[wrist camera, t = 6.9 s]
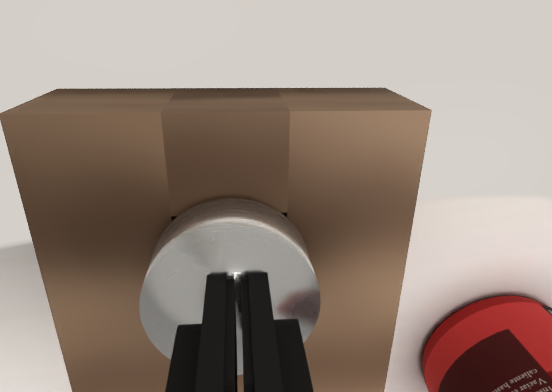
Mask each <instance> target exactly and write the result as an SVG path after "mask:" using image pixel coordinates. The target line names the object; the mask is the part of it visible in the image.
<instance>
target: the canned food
mask: <svg viewBox="0 0 552 392" xmlns="http://www.w3.org/2000/svg"><path fill="white" fill-rule="evenodd" d="M422 362H423V372H424V378H425V383H426V385H427V388H428V391H429V392H552V308H550V307H548V306H546V305H544V304H542V303H540V302H538V301H535V300H532V299H529V298H526V297H520V296H497V297H492V298H487V299H483V300H481V301H478V302H475V303H472V304H470V305H468V306H466V307H464V308H462V309H460V310H458V311H457V312H455V313H454V314H453V315H451V316H450V317H448V318H447V319H446V320H445V321H444V322H443V323H442V324H441V325H440V326H439V327H438V328H437V329H436V330H435V331H434V333H433V334H432V335H431V337H430V338H429V340H428V342H427V344H426V346H425V349H424V353H423V358H422Z"/></svg>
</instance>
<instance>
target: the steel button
mask: <svg viewBox="0 0 552 392" xmlns="http://www.w3.org/2000/svg"><path fill="white" fill-rule="evenodd" d="M256 272H267V273H268V279H269V287H270V295H271V302H272V310H273V317H274V320H276V319H294V318H297V319H298V321H299V325H300V330H301V334H302V339H303V343H304V342H305V341H306V340H307V338H308V337H309V335H310V334H311V332H312V331H313V329H314V326H315V324H316V322H317V319H318V316H319V311H320V305H321V304H320V290H319V285H318V282H317V279H316V276H315V273H314V269H313V266H312V263H311V260H310V257H309V254H308V251H307V248H306V245H305V242H304V239H303V238H302V236H301V234H300V232H299V231H298V229H297V228H296V226H295V225H294V224H293V223H292V222H291V221H290V220H289V219H288V218H287V217H286V216H284V215H283V214H282V213H281V212H279V211H277V210H276V209H274V208H272V207H270V206H268V205H265V204H263V203H260V202H256V201H253V200H248V199H241V198H224V199H216V200H211V201H207V202H204V203H201V204H198V205H196V206H194V207H192V208H190V209H188V210H186V211H184V212H183V213H181V214H180V215H178V216H177V217H176V218H175V219H174V220H173V221H172V222H171V223H170V224H169V225H168V226H167V227H166V228H165V229H164V231H163V233H162V234H161V236H160V237H159V239H158V241H157V244H156V246H155V249H154V252H153V255H152V258H151V261H150V264H149V267H148V270H147V274H146V277H145V280H144V283H143V286H142V290H141V293H140V300H139V312H140V318H141V322H142V325H143V328H144V330H145V332H146V334H147V336H148V337H149V339H150V341H151V342H152V343H153V344H154V346H155V347H156V348H157V349H158V350H159V351H160V352H161V353H162V354H163V355H165V356H166V357H167V358H169V359H170V360H171V357H172V352H173V346H174V341H175V335H176V330H177V327H178V325H184V324H202V317H203V307H204V298H205V288H206V279H207V275H210V274H227V279H235V307H236V337H237V375H242V374H243V346H242V308H241V278H248V273H256Z"/></svg>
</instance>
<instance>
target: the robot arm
mask: <svg viewBox="0 0 552 392" xmlns="http://www.w3.org/2000/svg"><path fill="white" fill-rule="evenodd" d="M241 308H242V346H243V384H244V392H314V391H313V386H312V381H311V377H310V372H309V367H308V363H307V358H306V353H305V349H304V344H303V339H302V334H301V330H300V325H299V321H298V319H297V318H294V319H276V320H274V317H273V310H272V302H271V295H270V287H269V279H268V273H267V272H256V273H248V278H241ZM165 392H238V385H237V337H236V307H235V279H227V274H210V275H207V279H206V288H205V298H204V307H203V317H202V324H184V325H178V327H177V330H176V335H175V341H174V346H173V352H172V357H171V362H170V368H169V373H168V379H167V384H166V390H165Z"/></svg>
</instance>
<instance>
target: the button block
mask: <svg viewBox="0 0 552 392" xmlns="http://www.w3.org/2000/svg"><path fill="white" fill-rule="evenodd" d="M430 117H431V110H430V109H428V108H426V107H424V106H422V105H420V104H417V103H416V102H413V101H411V100H409V99H407V98H405V97H402V96H401V95H399V94H397V93H395V92H392V91H390V90H388V89H386V88H195V89H193V88H191V89H189V88H187V89H186V88H183V89H182V88H181V89H180V88H179V89H176V88H174V89H56V90H53V91H51V92H49V93H46V94H44V95H42V96H40V97H37V98H35V99H33V100H30V101H28V102H26V103H24V104H21V105H19V106H16V107H14V108H12V109H9V110H7V111H5V112H2V113H0V120H1V124H2V127H3V131H4V135H5V139H6V143H7V146H8V150H9V154H10V158H11V162H12V165H13V169H14V173H15V177H16V180H17V184H18V188H19V192H20V195H21V199H22V203H23V207H24V211H25V214H26V218H27V222H28V226H29V230H30V233H31V237H32V241H33V245H34V248H35V252H36V256H37V260H38V263H39V267H40V271H41V275H42V279H43V282H44V286H45V290H46V294H47V297H48V301H49V305H50V309H51V313H52V316H53V320H54V324H55V328H56V331H57V335H58V339H59V343H60V346H61V350H62V354H63V358H64V362H65V365H66V369H67V373H68V377H69V380H70V384H71V388H72V392H165V390H166V384H167V379H168V373H169V368H170V362H171V360H170V359H169V358H167V357H166V356H165V355H163V354H162V353H161V352H160V351H159V350H158V349H157V348H156V347H155V346H154V344H153V343H152V342H151V341H150V339H149V337H148V336H147V334H146V332H145V330H144V328H143V325H142V322H141V318H140V312H139V300H140V293H141V290H142V286H143V283H144V280H145V277H146V274H147V270H148V267H149V264H150V261H151V258H152V255H153V252H154V249H155V246H156V244H157V241H158V239H159V237H160V236H161V234H162V233H163V231H164V229H165V228H166V227H167V226H168V225H169V224H170V223H171V222H172V221H173V220H174V219H175V218H176V217H177V216H178V215H180V214H181V213H183V212H184V211H186V210H188V209H190V208H192V207H194V206H196V205H198V204H201V203H204V202H207V201H211V200H216V199H224V198H241V199H248V200H253V201H256V202H260V203H263V204H265V205H268V206H270V207H272V208H274V209H276V210H277V211H279V212H281V213H282V214H283V215H284V216H286V217H287V218H288V219H289V220H290V221H291V222H292V223H293V224H294V225H295V226H296V228H297V229H298V231H299V232H300V234H301V236H302V238H303V239H304V242H305V245H306V248H307V251H308V254H309V257H310V260H311V263H312V266H313V269H314V273H315V276H316V279H317V282H318V285H319V290H320V304H321V305H320V311H319V316H318V319H317V322H316V324H315V326H314V329H313V331H312V332H311V334H310V335H309V337H308V338H307V340H306V341H305V342H304V343H303V344H304V349H305V353H306V358H307V363H308V367H309V372H310V377H311V381H312V386H313V391H314V392H384V389H385V383H386V377H387V371H388V365H389V359H390V353H391V347H392V342H393V336H394V330H395V324H396V318H397V312H398V306H399V300H400V294H401V288H402V282H403V277H404V271H405V265H406V259H407V253H408V247H409V241H410V235H411V229H412V223H413V217H414V212H415V206H416V200H417V194H418V188H419V182H420V176H421V170H422V163H423V158H424V152H425V146H426V140H427V135H428V129H429V123H430ZM237 385H238V392H244V384H243V374H242V375H237Z"/></svg>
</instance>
